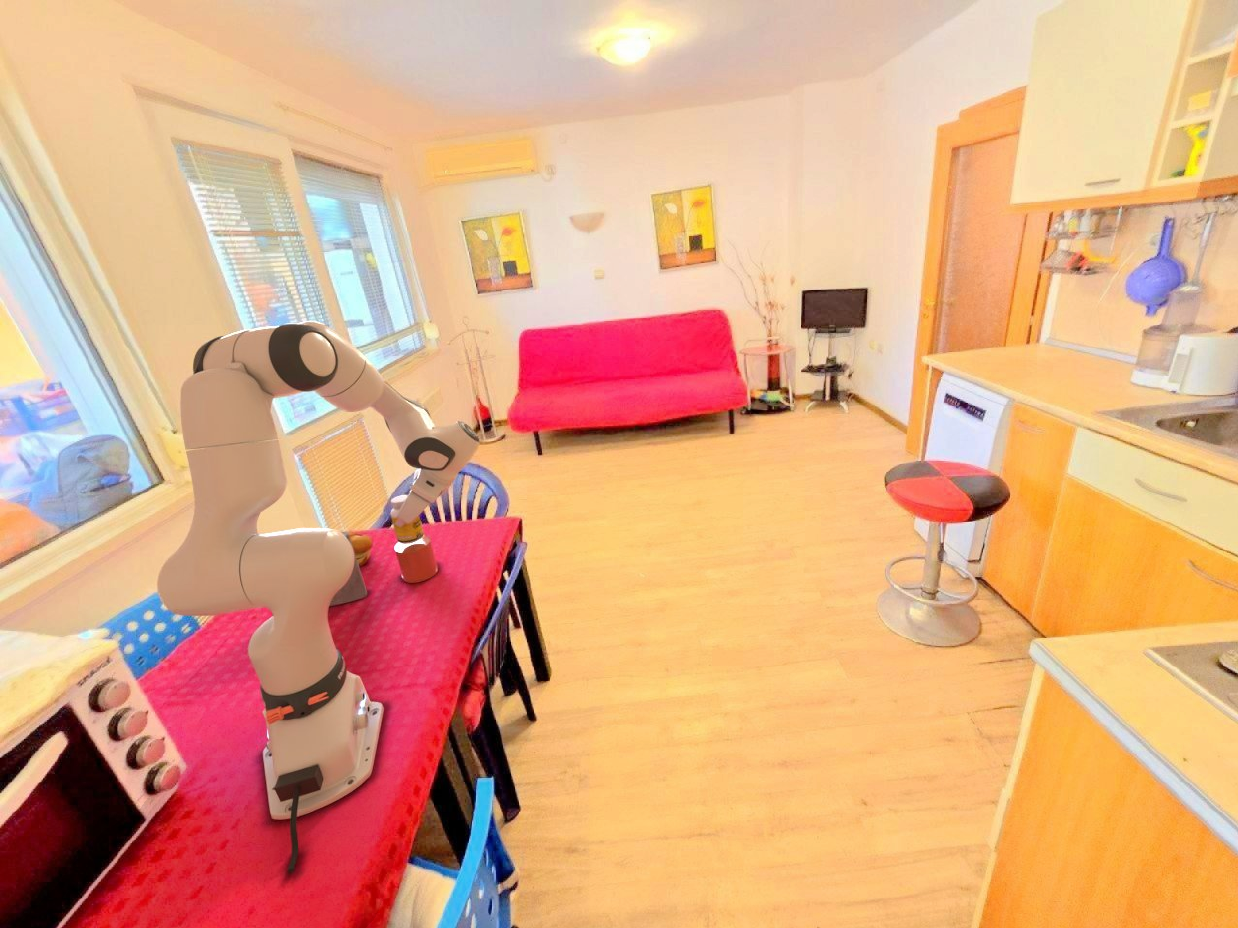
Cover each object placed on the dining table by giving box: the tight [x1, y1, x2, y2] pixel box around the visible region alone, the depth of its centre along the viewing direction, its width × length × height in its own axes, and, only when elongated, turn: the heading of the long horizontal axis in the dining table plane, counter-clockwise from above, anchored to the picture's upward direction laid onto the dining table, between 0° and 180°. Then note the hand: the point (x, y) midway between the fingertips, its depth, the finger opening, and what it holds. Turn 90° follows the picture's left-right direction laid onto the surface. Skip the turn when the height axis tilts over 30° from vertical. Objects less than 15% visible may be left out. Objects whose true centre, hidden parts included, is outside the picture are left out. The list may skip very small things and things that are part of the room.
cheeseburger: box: [347, 531, 374, 568], centre depth 142 cm, size 10×11×10 cm
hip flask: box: [329, 531, 368, 607], centre depth 122 cm, size 16×4×20 cm, turn 102°
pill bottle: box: [389, 494, 425, 544], centre depth 129 cm, size 6×6×12 cm
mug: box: [394, 534, 439, 584], centre depth 134 cm, size 12×9×9 cm
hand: (402, 517), depth 129 cm, fingers closed on pill bottle, 6 cm apart
